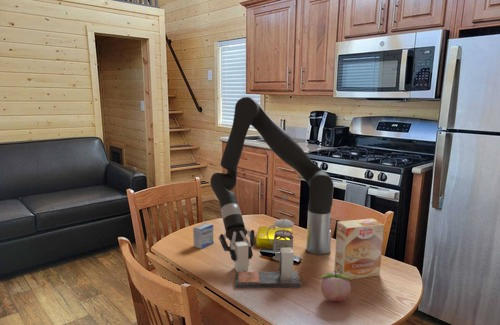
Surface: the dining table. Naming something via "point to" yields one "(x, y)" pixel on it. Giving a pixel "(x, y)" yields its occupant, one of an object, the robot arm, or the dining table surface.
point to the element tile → (262, 236)
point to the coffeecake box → (359, 248)
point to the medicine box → (203, 235)
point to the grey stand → (272, 274)
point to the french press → (282, 235)
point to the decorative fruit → (335, 286)
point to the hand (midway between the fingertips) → (242, 259)
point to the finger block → (241, 256)
